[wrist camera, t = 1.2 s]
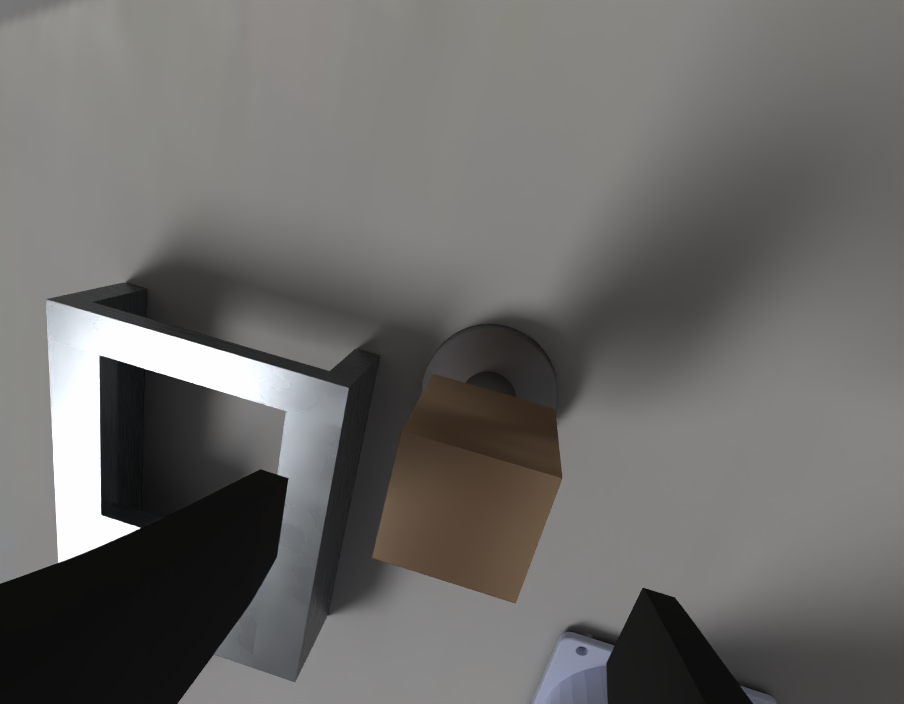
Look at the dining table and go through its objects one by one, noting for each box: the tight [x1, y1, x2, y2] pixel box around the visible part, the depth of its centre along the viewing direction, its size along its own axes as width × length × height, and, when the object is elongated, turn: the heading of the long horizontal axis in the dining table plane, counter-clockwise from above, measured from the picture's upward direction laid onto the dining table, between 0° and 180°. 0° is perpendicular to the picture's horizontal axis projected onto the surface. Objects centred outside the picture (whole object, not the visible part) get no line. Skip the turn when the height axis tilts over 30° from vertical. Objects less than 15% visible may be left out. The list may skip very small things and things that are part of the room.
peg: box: [372, 324, 562, 603], centre depth 15 cm, size 5×5×8 cm
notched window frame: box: [46, 283, 380, 682], centre depth 20 cm, size 11×14×3 cm
